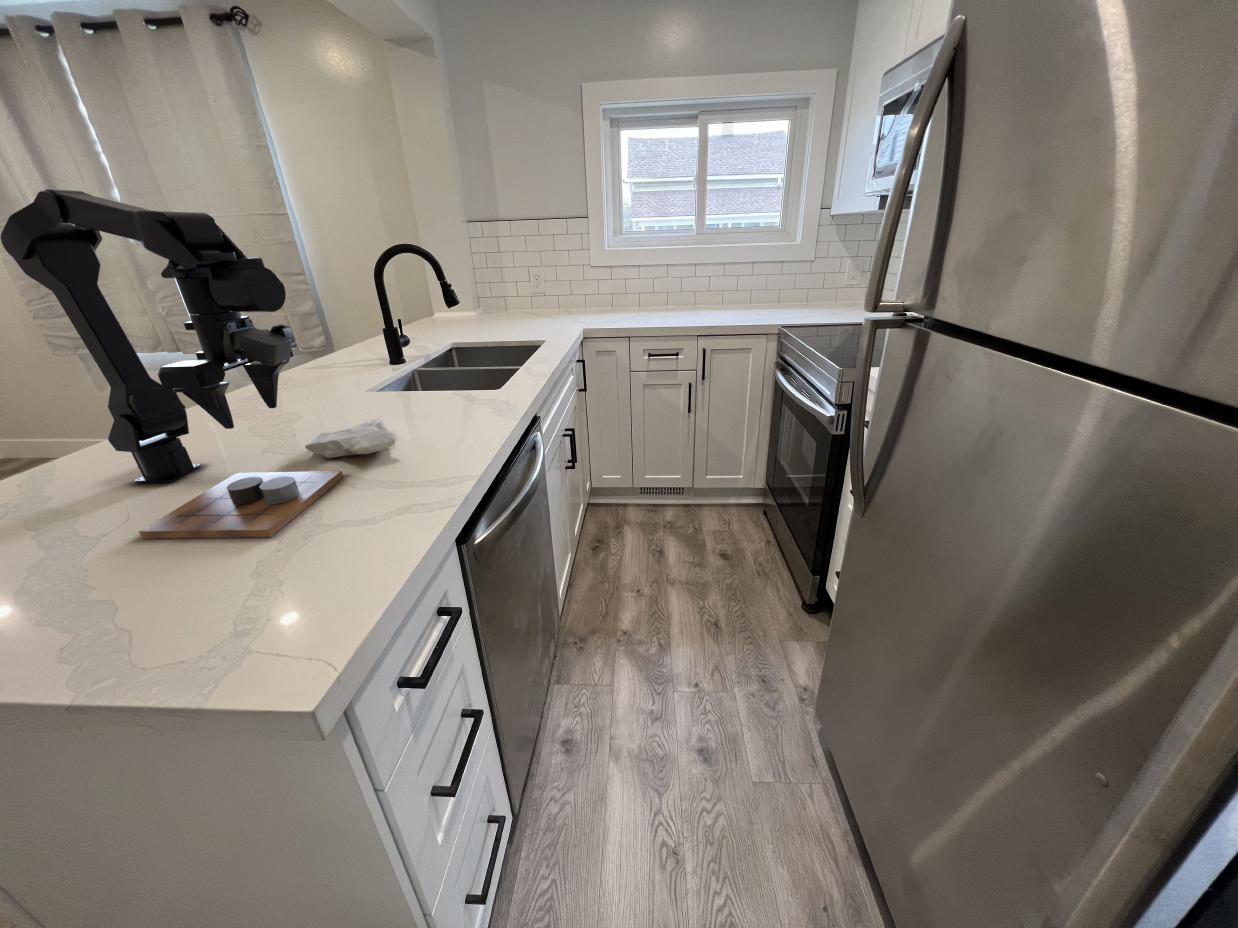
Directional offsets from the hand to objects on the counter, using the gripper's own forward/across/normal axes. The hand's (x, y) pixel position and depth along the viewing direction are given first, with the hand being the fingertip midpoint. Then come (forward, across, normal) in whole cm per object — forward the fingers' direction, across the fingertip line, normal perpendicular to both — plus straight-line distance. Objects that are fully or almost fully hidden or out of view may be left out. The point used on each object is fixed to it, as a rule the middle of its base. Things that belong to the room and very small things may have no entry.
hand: (252, 417), depth 76 cm
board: (+12, -7, -1) cm, 13 cm away
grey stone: (+10, -7, -6) cm, 14 cm away
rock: (+12, +13, -6) cm, 19 cm away
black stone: (+10, -7, -1) cm, 12 cm away
